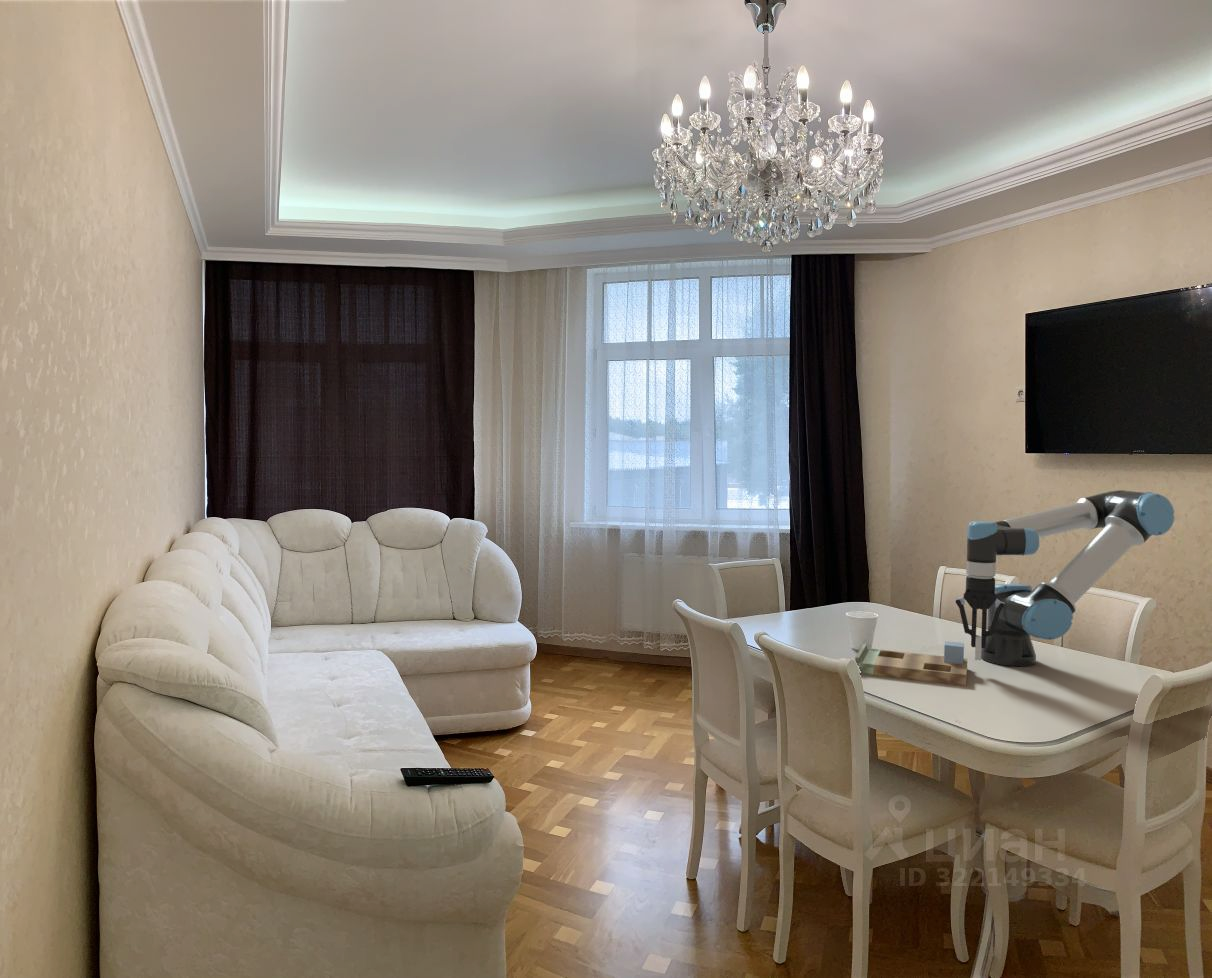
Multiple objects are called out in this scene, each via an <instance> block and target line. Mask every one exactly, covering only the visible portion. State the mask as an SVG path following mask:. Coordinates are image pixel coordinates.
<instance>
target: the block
mask: <svg viewBox="0 0 1212 978" xmlns="http://www.w3.org/2000/svg"><path fill="white" fill-rule="evenodd" d="M943 647H944V651H943V655H944V662H945V663H955V664H963V660H964V659H965V657H964V654H965V643H964V642H958V641H957V642H956V641H949V640H948V641H947V640H945V642H944V646H943Z"/></svg>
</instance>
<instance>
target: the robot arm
mask: <svg viewBox="0 0 1212 978" xmlns="http://www.w3.org/2000/svg"><path fill="white" fill-rule="evenodd" d="M1174 513H1175V510H1174V507H1173V503H1172V502H1171V501H1170V500H1169V499H1168V498H1167V497H1166V496H1164V495H1162V494H1160V493H1155V492H1151V491H1146V492H1141V491H1133V490H1132V491H1131V490H1111V491H1107V492H1102V493H1098V494H1094V495H1091V496H1088V497H1087V496H1085V497H1083V498H1079V499H1077V501H1075V503H1072V504H1068V505H1063V506H1058V507H1055V508H1050V509H1046V510H1042V511H1037V512H1033V513H1029V514H1025V515H1019V516H1017V517H1012V518H1007V519H1002V520H999V521H995V522H994V521H984V520H982V521H981V520H974V521H970V522H969V523H968V527H967V535H966V543H967V544H966V563H965V564H966V566H965V567H966V569H965V574H966V575H967V576H966V577H965V591H964V593H963V596H960V597H957V598H956V599H955V603H956V605H957V607H958V609H959V612H960V617H961V622H962V626H963V630H964V633H965V634H967V635H969V636H970V646H971V648H975V651H974V652H975V653H974V661H975V660H976V661H981V660H983V661H986V662H989V663H991V664H996V665H1002V666H1009V667H1010V666H1011V667H1029V666H1030V667H1031V666H1034V665H1035V664H1036V663H1037V654H1036V652H1035V648H1034V645H1033V642H1032V639H1031V637H1032V638H1036V639H1041V640H1047V641H1051V640H1057V639H1059V638H1061V637H1063V636H1064V635H1066V634H1067V632H1069V630H1070V629H1071V627H1072V624H1073V622H1072V621H1073V620H1074V615H1073V614H1074V613H1076V611H1077V609H1076V603H1077V602H1078V601H1079V600H1080V599H1081V598H1082V597H1083V596H1084V595H1085V594H1086V593H1087V592H1088V591H1089V590H1090V589H1091V588H1092V587H1093V586H1094V585H1095V584H1096V583H1097V582H1098V581H1099V580H1100V579H1101V578H1102V577H1103V576H1104V575H1105V574H1106V573H1107V572H1108V571H1109V570H1110V569H1111V568H1112V567H1113V566H1114V565H1115V564H1116V563H1117V562H1118V561H1119V560H1120V559H1121V558H1123V556H1124V555H1125V554H1126V553H1127V552H1128V551H1129V550H1130V549H1131V548H1132V547H1133V546H1135V547H1136V546H1138V547H1140V546H1143V544H1145V543H1146V542H1147V540H1149V539H1150V538H1151V537H1152V536H1161V535H1165V534H1166V533H1168V532H1169V531H1170V530H1171V528H1172V527H1173V524H1174V521H1175V515H1174ZM1101 528H1102V529H1101ZM1079 529H1085V530H1088V531H1089V530H1094V529H1101V530H1099V532H1098V533H1097V534H1095V536H1094V537H1093V538H1091V540H1090V541H1089V542H1088V543H1087V544H1086V545H1085V546H1084V547H1083V548H1082V549H1081V550H1080V551H1079V552H1078V553H1077V554H1076V555H1075V556H1074V557H1072V559H1071V560H1070V561H1069V562H1067V564H1066V565H1065V566H1064V567H1063V568H1061V569H1060V571H1058V573H1057V574H1055V576H1054V577H1052V579H1050V581H1048V582H1039V583H1038V584H1037V586H1035V588H1034V589H1033V588H1032V585H1030V584H1021V583H1019V584H1017V583H1005V584H1004V583H1002V584H1001V583H1000V584H996V579H995V576H996V574H997V573H996V570H997V568H996V566H997V556H1028V555H1029V556H1030V555H1031V556H1032V555H1034V554H1036V553H1037V551H1038V549H1039V547H1040V539H1042V538H1045V537H1048V536H1053V535H1057V534H1061V533H1066V532H1070V531H1074V530H1079ZM965 601H966V603H967V604H968V605H969V607H970V608H971V609H972V611H971V628H970V627H969V624H968V623H969V622H968V618H967V613H966V609H965V606H964V605H965V604H966V603H965ZM978 610H981V633H980V634H981V635H979V634H977V620H978V619H977V617H978V616H977V615H978Z"/></svg>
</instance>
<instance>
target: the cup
mask: <svg viewBox="0 0 1212 978" xmlns="http://www.w3.org/2000/svg"><path fill="white" fill-rule="evenodd" d="M845 615H846V619H847V626H848V634H849V641H850V647H851V648H852V649H853V650H855V651H859V650H860V648H861V647H862V645H863V643H867V648H868V649H873V648H872V647H873V643H874V642H873V641H874V639H875V637H874V636H875V631H876V627H877V623H878V618H879V615H878V614H877V613H874V612H870V611H860V610H859V611H858V610H856V611H848V612H845Z"/></svg>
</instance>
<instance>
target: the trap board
mask: <svg viewBox="0 0 1212 978" xmlns="http://www.w3.org/2000/svg"><path fill="white" fill-rule="evenodd" d="M854 659H855V660H854V662H855V661H856V663H857V665H858V666H859V669H860V671H861V674H862V675H869V676H870V675H871V676H876V677H879V676H880V677H886V678H887V677H888V678H897V679H904V680H912V681H920V682H921V681H922V682H930V683H938V684H946V685H947V684H949V685H955V686H956V685H957V686H963V687H964V686H967V676H968V675H967V674H968V658H964V660H963V664H955V663H945V662H944V656H943V655H934V654H926V653H925V654H923V653H915V652H905V651H896V650H895V651H894V650H889V649H888V650H886V649H876V648H871V649H868V648H867V643H863V645H862V647H861V648H860V650H858V652H857V654H856V655H855V658H854ZM861 674H860V675H861Z"/></svg>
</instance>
